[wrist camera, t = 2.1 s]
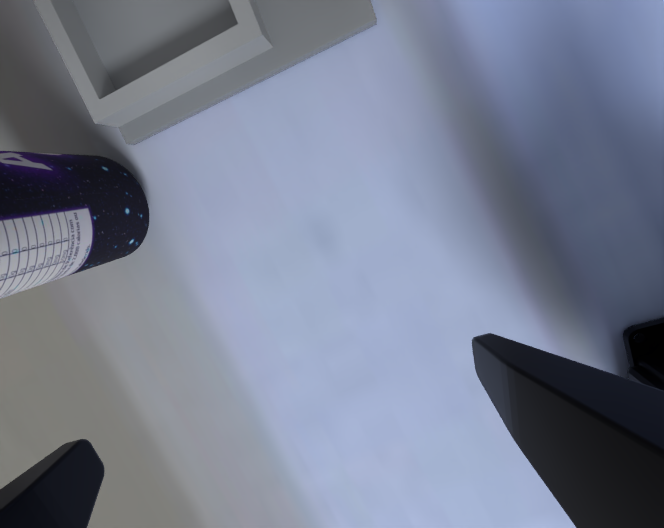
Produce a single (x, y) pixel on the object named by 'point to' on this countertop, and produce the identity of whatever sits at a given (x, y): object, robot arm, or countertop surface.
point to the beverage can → (64, 216)
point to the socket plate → (186, 51)
